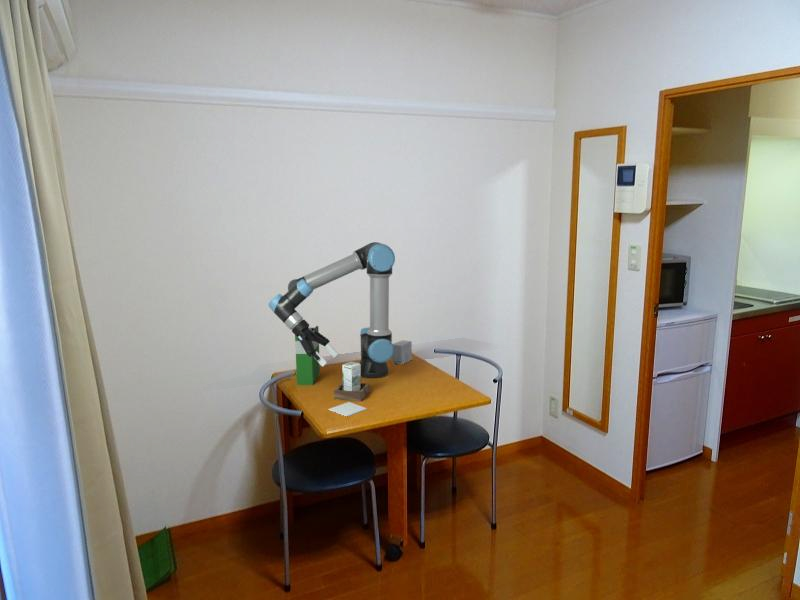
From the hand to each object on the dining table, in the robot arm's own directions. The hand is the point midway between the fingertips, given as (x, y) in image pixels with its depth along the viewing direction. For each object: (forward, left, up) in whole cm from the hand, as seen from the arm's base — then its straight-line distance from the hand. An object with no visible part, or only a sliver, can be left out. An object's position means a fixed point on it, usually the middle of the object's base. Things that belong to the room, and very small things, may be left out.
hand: (330, 360), depth 248 cm
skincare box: (-57, -12, -16) cm, 60 cm away
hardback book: (-6, -25, -16) cm, 30 cm away
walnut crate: (-5, +8, -16) cm, 18 cm away
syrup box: (-5, +8, -16) cm, 18 cm away
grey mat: (+7, +19, -16) cm, 25 cm away
